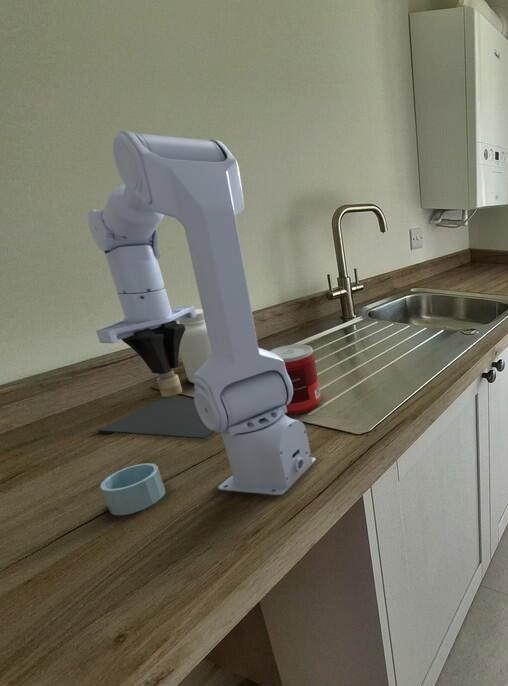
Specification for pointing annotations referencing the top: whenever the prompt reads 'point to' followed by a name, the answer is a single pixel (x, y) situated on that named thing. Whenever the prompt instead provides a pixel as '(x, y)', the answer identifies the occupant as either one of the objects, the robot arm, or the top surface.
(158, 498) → the bowl
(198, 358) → the pill bottle
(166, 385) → the brush
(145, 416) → the mat
